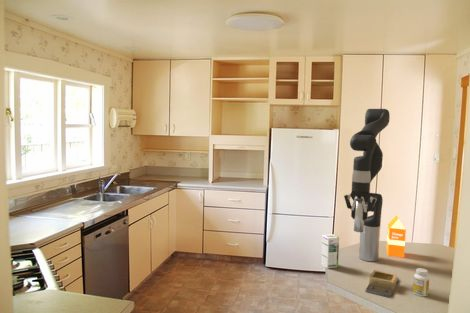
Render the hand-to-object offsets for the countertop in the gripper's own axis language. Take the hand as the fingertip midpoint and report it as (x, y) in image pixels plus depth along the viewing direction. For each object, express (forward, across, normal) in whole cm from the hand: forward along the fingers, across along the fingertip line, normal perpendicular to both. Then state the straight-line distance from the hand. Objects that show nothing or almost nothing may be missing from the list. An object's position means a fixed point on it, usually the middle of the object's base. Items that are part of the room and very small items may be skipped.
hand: (359, 219), depth 158 cm
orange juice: (+25, -10, -41) cm, 49 cm away
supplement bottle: (+25, -26, +4) cm, 36 cm away
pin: (+5, 0, 0) cm, 5 cm away
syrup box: (+25, +13, -3) cm, 29 cm away
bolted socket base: (+25, -12, +5) cm, 28 cm away
